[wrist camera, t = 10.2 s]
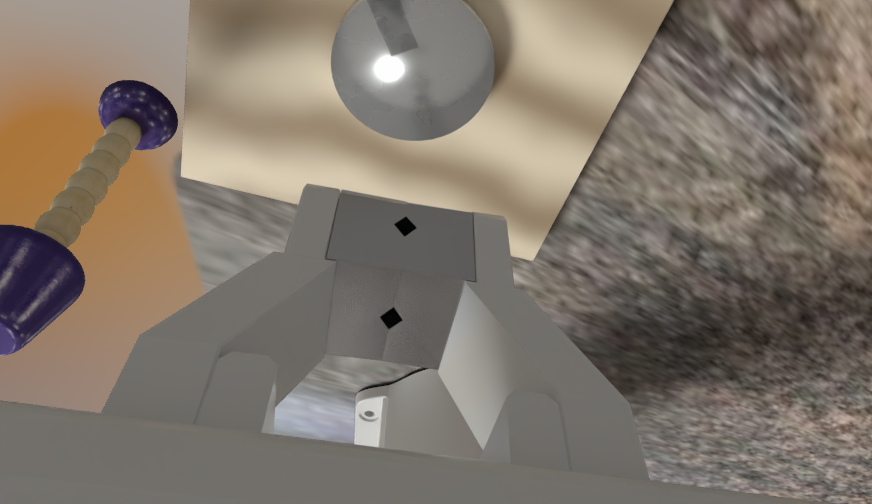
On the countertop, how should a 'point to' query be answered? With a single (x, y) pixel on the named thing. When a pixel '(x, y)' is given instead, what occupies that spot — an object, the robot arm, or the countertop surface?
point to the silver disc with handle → (413, 65)
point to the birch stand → (400, 159)
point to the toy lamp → (74, 215)
